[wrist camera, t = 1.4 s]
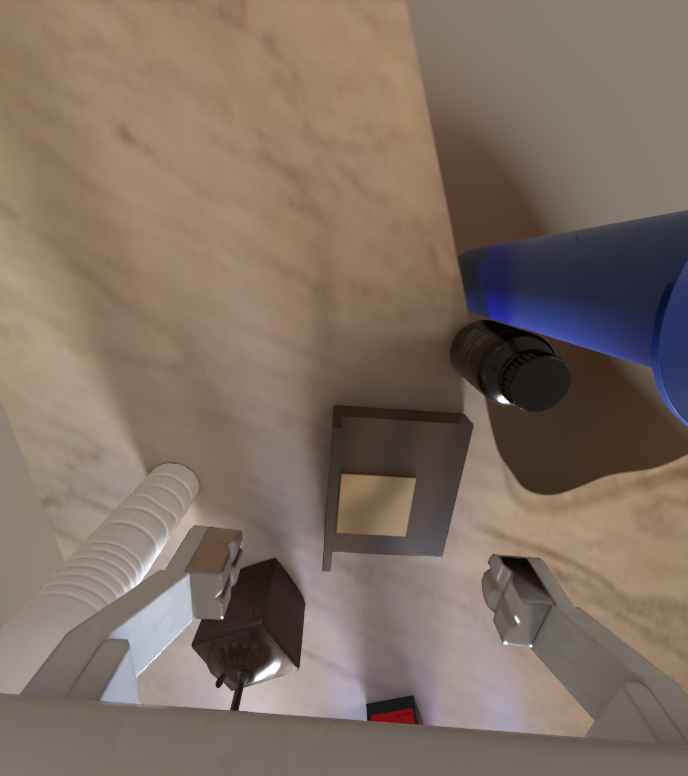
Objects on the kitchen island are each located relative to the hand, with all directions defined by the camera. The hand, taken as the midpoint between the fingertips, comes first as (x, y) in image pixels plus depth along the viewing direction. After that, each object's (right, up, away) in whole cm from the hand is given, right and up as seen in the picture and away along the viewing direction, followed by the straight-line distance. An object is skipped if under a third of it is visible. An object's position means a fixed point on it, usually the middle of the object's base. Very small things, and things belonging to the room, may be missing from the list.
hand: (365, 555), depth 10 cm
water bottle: (-24, -6, +32) cm, 40 cm away
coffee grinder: (-13, -28, +39) cm, 50 cm away
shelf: (+5, -7, +32) cm, 33 cm away
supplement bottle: (+15, +10, +26) cm, 31 cm away
